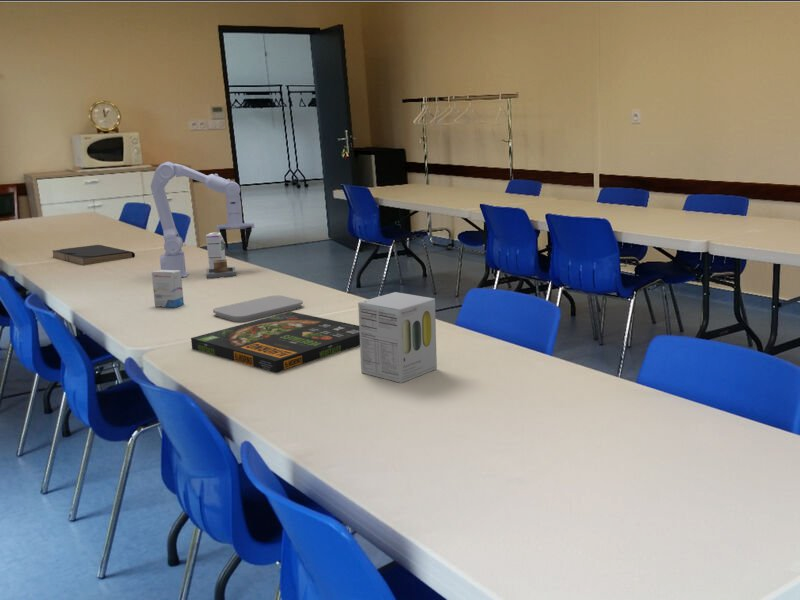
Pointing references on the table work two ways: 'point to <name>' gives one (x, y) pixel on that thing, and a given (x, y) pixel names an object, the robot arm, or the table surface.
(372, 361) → the supplement box
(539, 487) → the table surface
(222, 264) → the walnut cube
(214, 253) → the syrup box
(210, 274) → the grey dish
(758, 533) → the table surface
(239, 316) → the tablet
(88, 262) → the file folder
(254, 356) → the pizza box
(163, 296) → the ink box
